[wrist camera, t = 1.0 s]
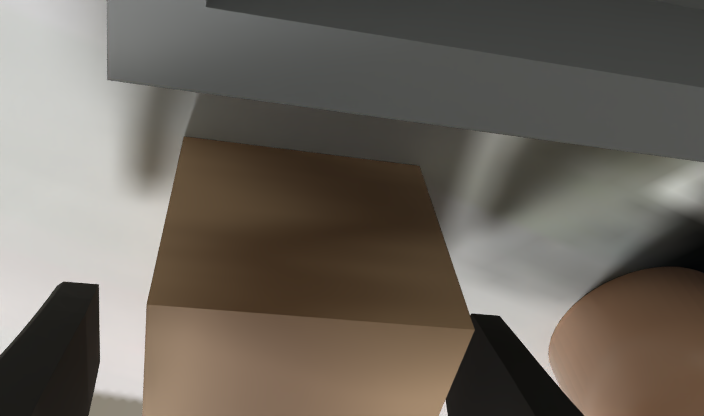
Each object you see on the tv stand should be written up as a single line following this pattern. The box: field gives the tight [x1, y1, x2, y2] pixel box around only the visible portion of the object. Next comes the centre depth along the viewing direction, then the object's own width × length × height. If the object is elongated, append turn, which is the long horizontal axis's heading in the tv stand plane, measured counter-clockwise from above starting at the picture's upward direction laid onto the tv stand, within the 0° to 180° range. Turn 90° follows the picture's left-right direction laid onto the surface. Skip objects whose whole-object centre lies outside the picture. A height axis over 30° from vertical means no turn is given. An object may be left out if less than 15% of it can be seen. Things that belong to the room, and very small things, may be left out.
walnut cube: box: [142, 136, 475, 416], centre depth 13 cm, size 5×5×5 cm
